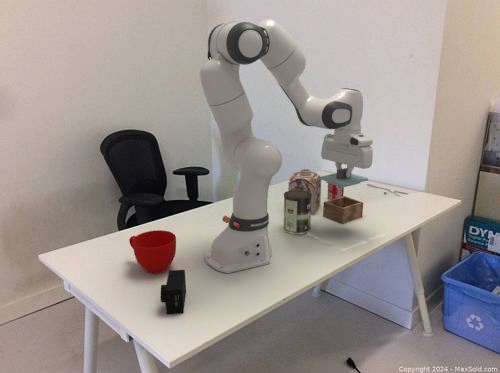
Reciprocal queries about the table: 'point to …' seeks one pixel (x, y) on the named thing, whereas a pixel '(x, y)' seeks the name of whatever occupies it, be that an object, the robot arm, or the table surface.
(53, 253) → the table surface
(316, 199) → the decorative jar
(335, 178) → the lid
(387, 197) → the table surface
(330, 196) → the soda can
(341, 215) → the walnut box
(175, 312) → the digital camera
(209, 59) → the robot arm
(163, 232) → the ceramic cup
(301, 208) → the coffee can
